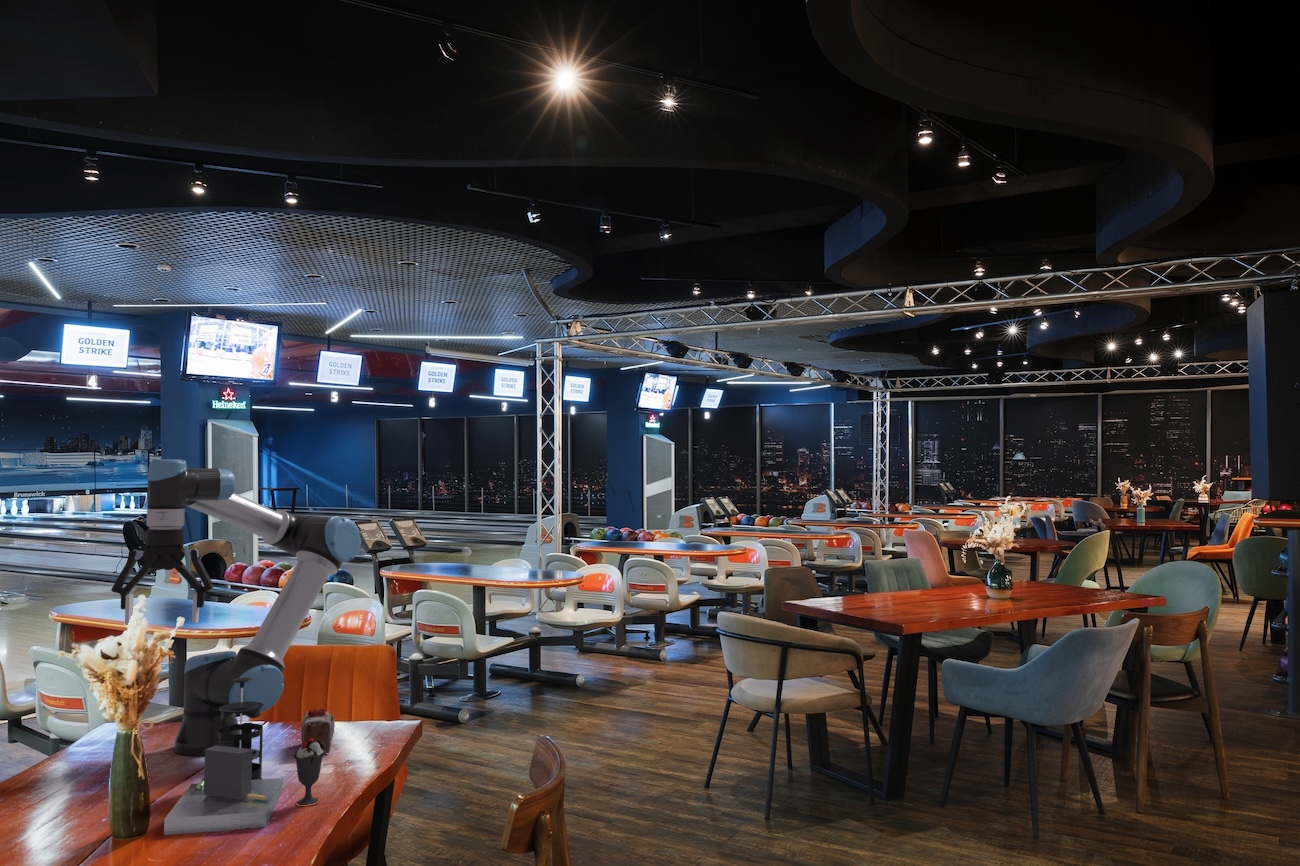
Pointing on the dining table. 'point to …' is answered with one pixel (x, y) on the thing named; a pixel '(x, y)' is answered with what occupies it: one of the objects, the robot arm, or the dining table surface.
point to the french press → (243, 727)
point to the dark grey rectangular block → (229, 773)
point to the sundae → (309, 766)
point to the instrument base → (222, 809)
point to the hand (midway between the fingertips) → (162, 623)
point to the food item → (318, 727)
